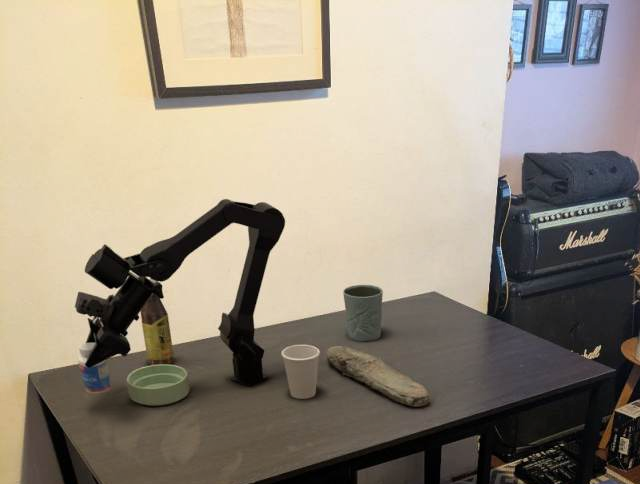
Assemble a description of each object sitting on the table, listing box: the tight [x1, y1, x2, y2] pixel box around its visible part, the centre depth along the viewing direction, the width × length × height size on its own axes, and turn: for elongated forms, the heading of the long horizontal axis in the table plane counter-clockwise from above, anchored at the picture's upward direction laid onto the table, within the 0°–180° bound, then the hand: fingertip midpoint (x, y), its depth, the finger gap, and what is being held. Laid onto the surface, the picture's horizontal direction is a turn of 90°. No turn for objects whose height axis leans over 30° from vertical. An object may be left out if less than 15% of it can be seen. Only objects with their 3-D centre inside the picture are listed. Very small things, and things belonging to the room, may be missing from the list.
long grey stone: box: [326, 345, 430, 408], centre depth 178 cm, size 35×5×10 cm
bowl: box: [126, 364, 191, 407], centre depth 172 cm, size 13×13×4 cm
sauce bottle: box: [140, 278, 174, 366], centre depth 182 cm, size 7×6×20 cm
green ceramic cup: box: [342, 284, 384, 342], centre depth 200 cm, size 10×10×12 cm
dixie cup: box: [281, 344, 321, 400], centre depth 171 cm, size 8×8×10 cm
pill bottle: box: [77, 342, 112, 395], centre depth 162 cm, size 6×5×10 cm
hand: (85, 361), depth 161 cm, fingers closed on pill bottle, 5 cm apart
